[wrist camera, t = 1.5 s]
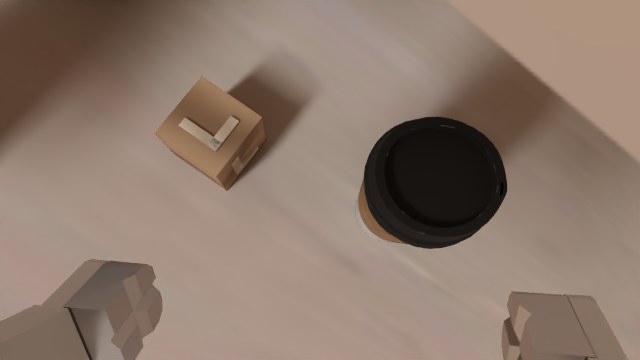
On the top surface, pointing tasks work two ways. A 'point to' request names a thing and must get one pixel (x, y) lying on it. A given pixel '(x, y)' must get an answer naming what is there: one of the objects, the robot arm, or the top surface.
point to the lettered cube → (213, 133)
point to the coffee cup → (430, 184)
